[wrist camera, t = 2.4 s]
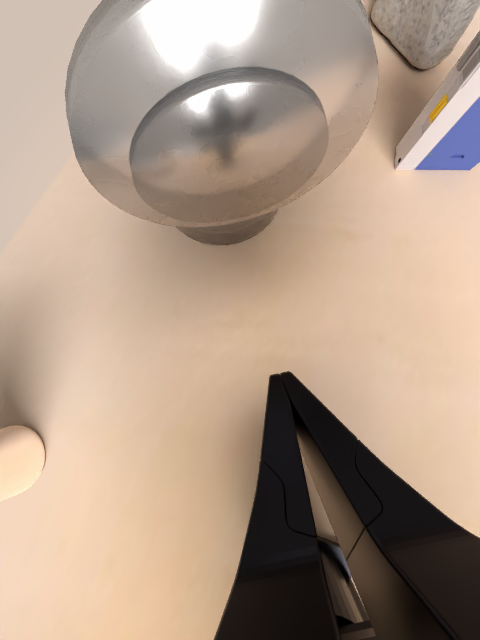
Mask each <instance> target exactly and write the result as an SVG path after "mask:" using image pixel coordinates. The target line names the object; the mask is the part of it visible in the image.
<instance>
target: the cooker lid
mask: <svg viewBox="0 0 480 640" xmlns="http://www.w3.org/2000/svg"><path fill="white" fill-rule="evenodd" d="M378 81H379V73H378V60H377V55H376V50H375V45H374V41H373V36H372V32H371V28H370V25H369V21H368V18H367V14H366V11H365V8H364V6H363V4H362V2H361V0H102V2H101V3H100V4H99V5H98V7H97V8H96V9H95V10H94V12H93V13H92V14H91V15H90V17H89V19H88V21H87V23H86V24H85V26H84V28H83V30H82V32H81V34H80V36H79V38H78V39H77V41H76V44H75V47H74V50H73V53H72V57H71V60H70V63H69V66H68V71H67V81H66V89H65V99H66V112H67V119H68V124H69V129H70V134H71V139H72V143H73V147H74V151H75V155H76V158H77V161H78V163H79V165H80V167H81V169H82V171H83V173H84V174H85V176H86V177H87V179H88V180H89V182H90V183H91V185H92V186H93V187H94V188H95V189H96V190H97V191H98V192H99V193H100V194H101V195H102V196H103V197H104V198H106V199H107V200H108V201H109V202H111V203H112V204H114V205H115V206H117V207H118V208H120V209H122V210H123V211H125V212H127V213H130V214H132V215H134V216H136V217H139V218H142V219H144V220H148V221H151V222H155V223H159V224H164V225H171V226H179V227H210V226H219V225H226V224H231V223H236V222H240V221H244V220H248V219H251V218H255V217H257V216H260V215H263V214H266V213H268V212H271V211H273V210H276V209H278V208H280V207H282V206H284V205H286V204H288V203H290V202H292V201H293V200H295V199H297V198H299V197H300V196H302V195H303V194H305V193H306V192H308V191H309V190H311V189H312V188H314V187H315V186H316V185H318V184H319V183H320V182H321V181H323V180H324V179H325V178H326V177H327V176H328V175H330V174H331V173H332V172H333V171H334V170H335V169H336V168H337V167H338V166H339V165H340V164H341V162H342V161H343V160H344V159H345V158H346V157H347V156H348V154H349V153H350V152H351V150H352V149H353V148H354V146H355V145H356V143H357V142H358V140H359V139H360V137H361V135H362V133H363V132H364V130H365V128H366V126H367V124H368V121H369V119H370V117H371V114H372V112H373V108H374V104H375V101H376V97H377V90H378Z"/></svg>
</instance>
